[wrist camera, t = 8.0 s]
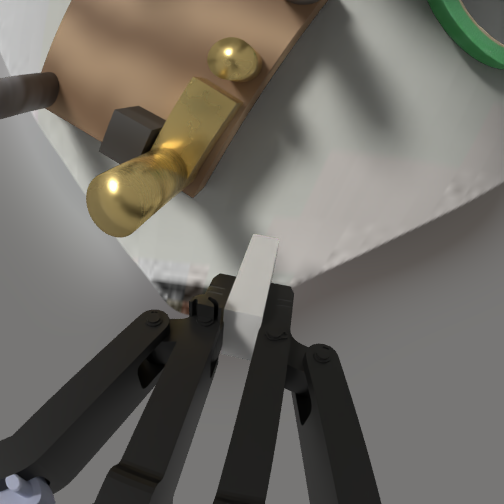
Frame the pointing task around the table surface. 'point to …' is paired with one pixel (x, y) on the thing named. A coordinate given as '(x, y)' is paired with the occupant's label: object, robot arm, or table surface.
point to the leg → (173, 145)
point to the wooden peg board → (151, 66)
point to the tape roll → (468, 32)
